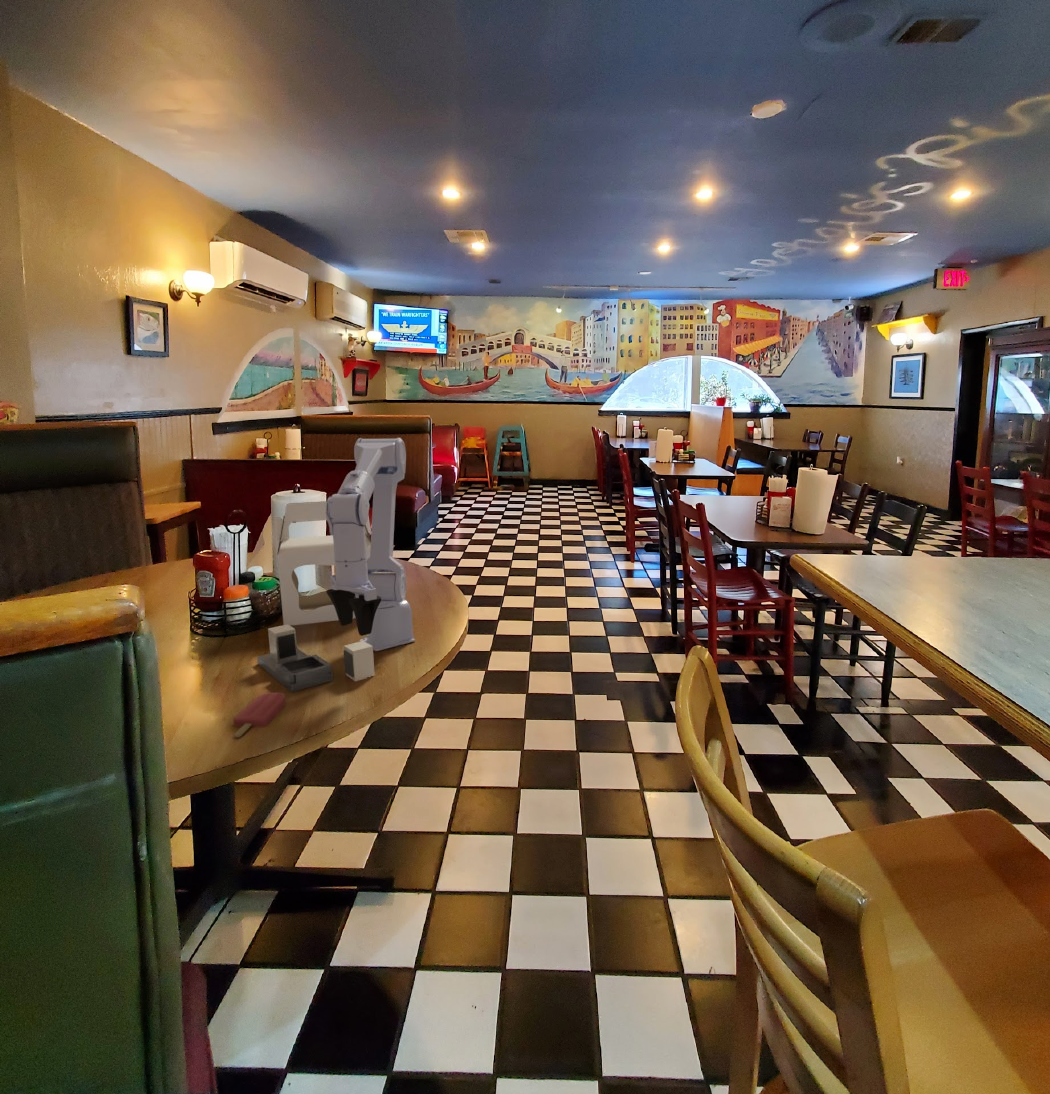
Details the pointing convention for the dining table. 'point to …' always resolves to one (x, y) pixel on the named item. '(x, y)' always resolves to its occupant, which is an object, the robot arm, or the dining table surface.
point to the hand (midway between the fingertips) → (355, 629)
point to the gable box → (302, 554)
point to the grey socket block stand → (293, 661)
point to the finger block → (359, 660)
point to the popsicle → (259, 712)
